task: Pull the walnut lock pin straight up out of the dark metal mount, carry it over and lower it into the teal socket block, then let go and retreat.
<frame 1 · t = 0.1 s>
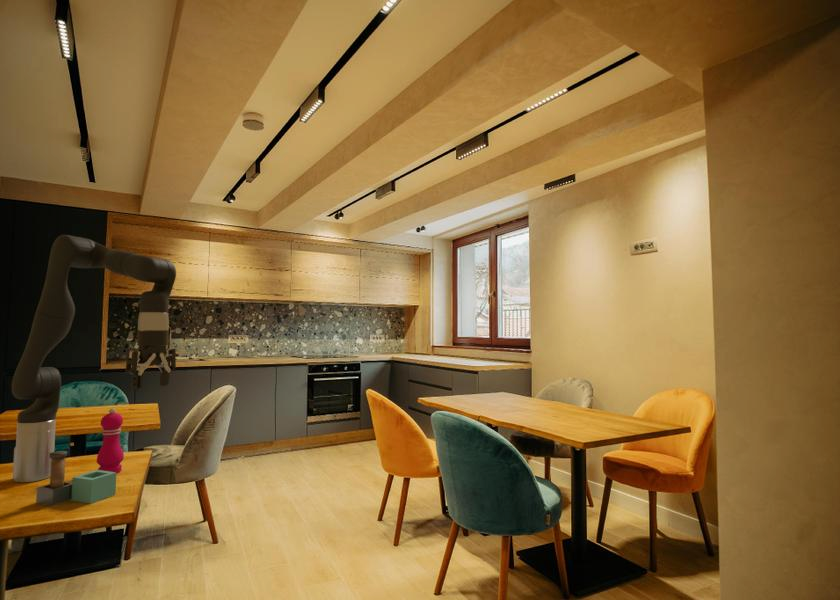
hand: (151, 387, 132), 29 cm above the table, tool pointing down, fingers open, 8 cm apart
mount: (56, 500, 126), on the table
lock pin: (57, 476, 127), in the mount
pepper mill: (109, 473, 151), on the table
socket: (93, 497, 129), on the table
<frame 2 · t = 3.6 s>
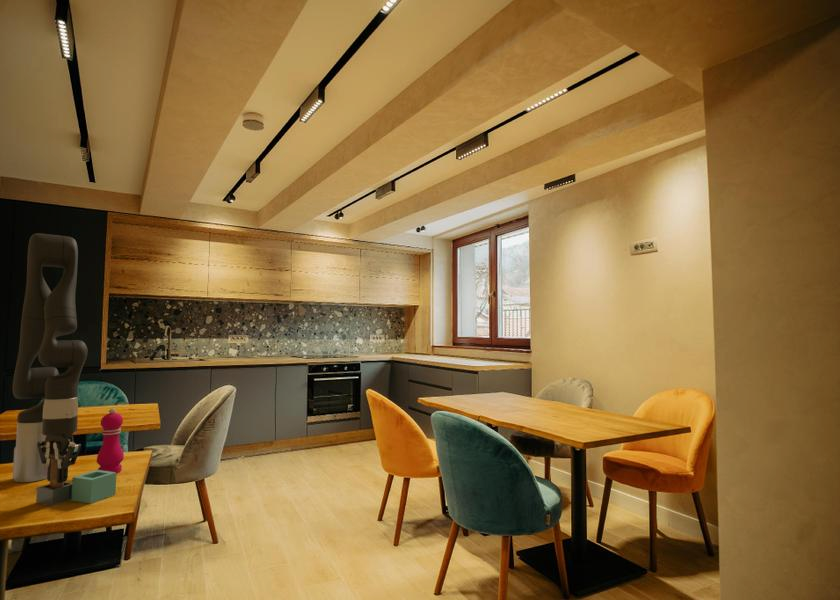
hand: (57, 480, 126), 5 cm above the table, tool pointing down, fingers closed on lock pin, 3 cm apart
lock pin: (57, 476, 127), in the mount, touching gripper
everything else where it was.
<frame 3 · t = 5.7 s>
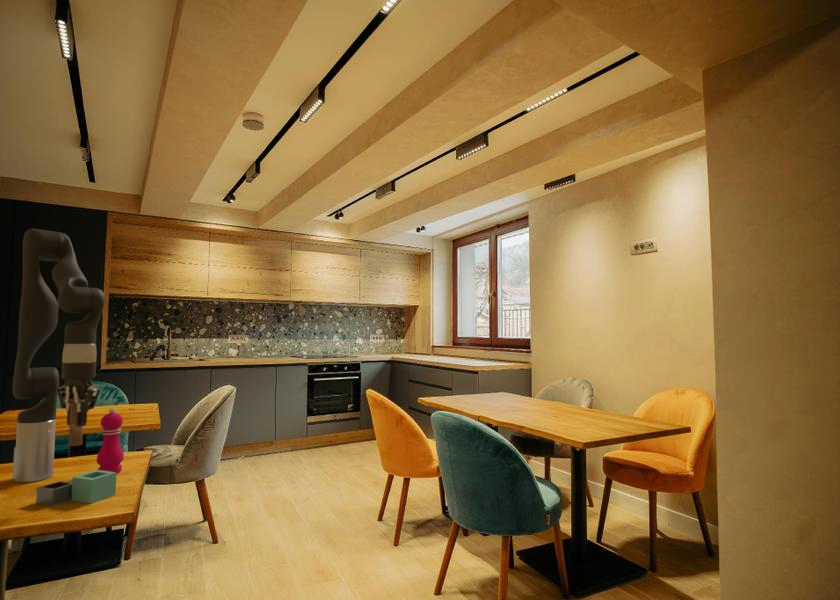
hand: (76, 425, 128), 20 cm above the table, tool pointing down, fingers closed on lock pin, 3 cm apart
lock pin: (76, 421, 128), point 21 cm above the table, touching gripper
everything else where it was.
when the fingers open (8 cm above the table, at t = 7.9 s): lock pin drops 2 cm, resting in socket.
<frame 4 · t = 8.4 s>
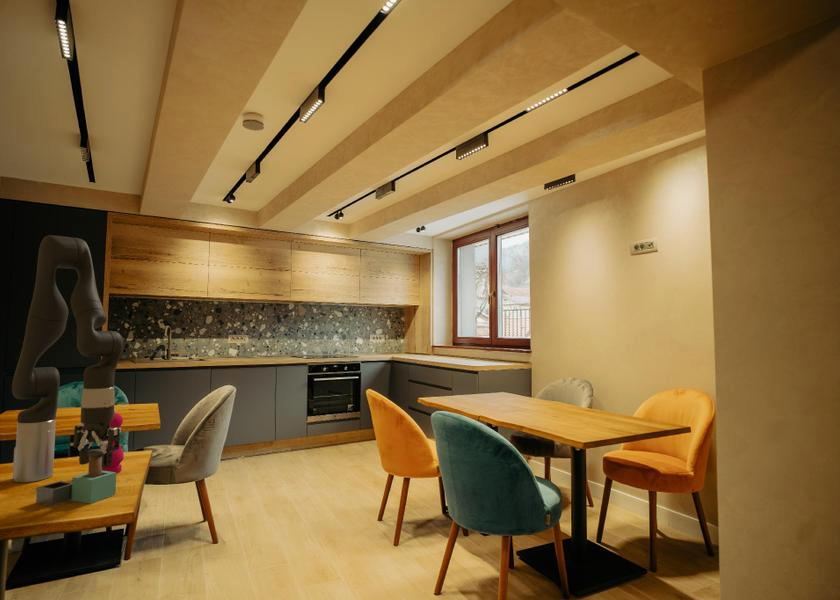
hand: (95, 465, 129), 9 cm above the table, tool pointing down, fingers open, 8 cm apart
lock pin: (95, 474, 129), in the socket
everything else where it was.
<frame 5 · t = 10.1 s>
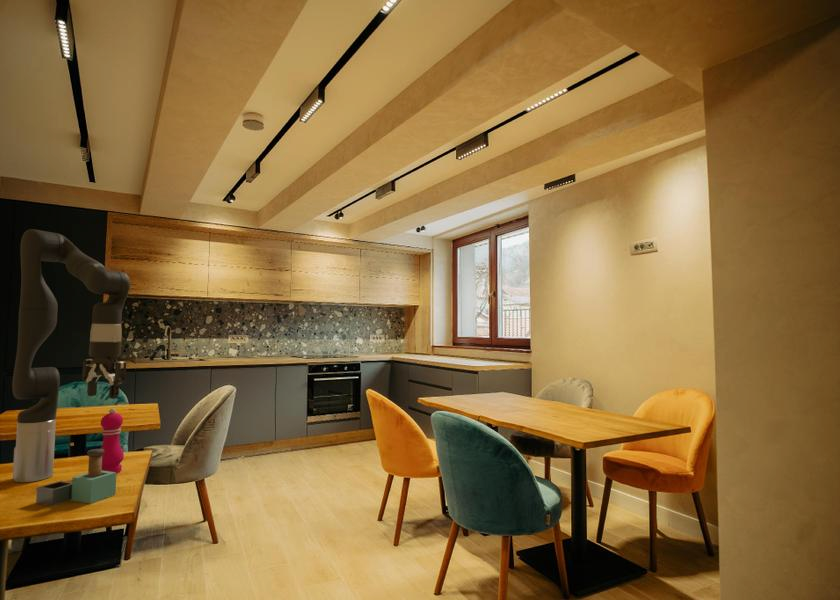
hand: (102, 397, 136), 26 cm above the table, tool pointing down, fingers open, 8 cm apart
nothing on the table moved.
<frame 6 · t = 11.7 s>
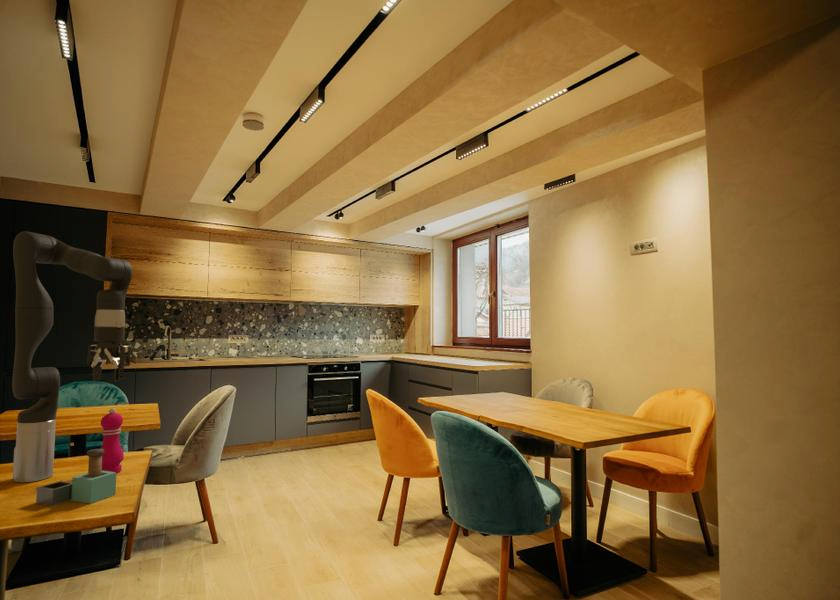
hand: (107, 380, 140), 30 cm above the table, tool pointing down, fingers open, 8 cm apart
nothing on the table moved.
at the end: lock pin 0.1 cm off-centre on the socket, point 6.2 cm above the socket's base; lock pin tilted 0°; the gripper is holding nothing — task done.
